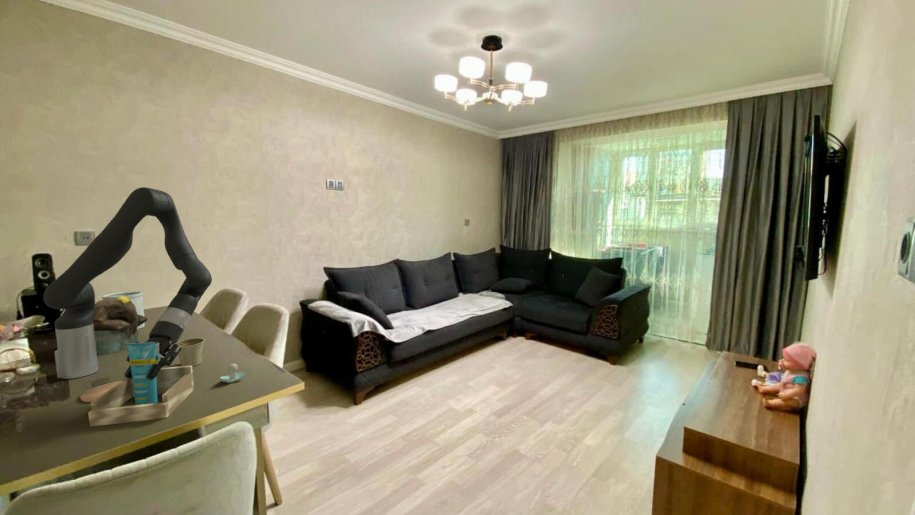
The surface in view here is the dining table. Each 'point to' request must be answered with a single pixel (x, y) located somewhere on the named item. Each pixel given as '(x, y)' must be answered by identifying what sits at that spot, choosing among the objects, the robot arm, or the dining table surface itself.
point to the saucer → (97, 392)
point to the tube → (142, 372)
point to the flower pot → (191, 351)
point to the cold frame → (169, 383)
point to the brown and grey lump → (115, 325)
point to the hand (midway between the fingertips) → (138, 378)
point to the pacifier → (232, 374)
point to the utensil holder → (135, 299)
